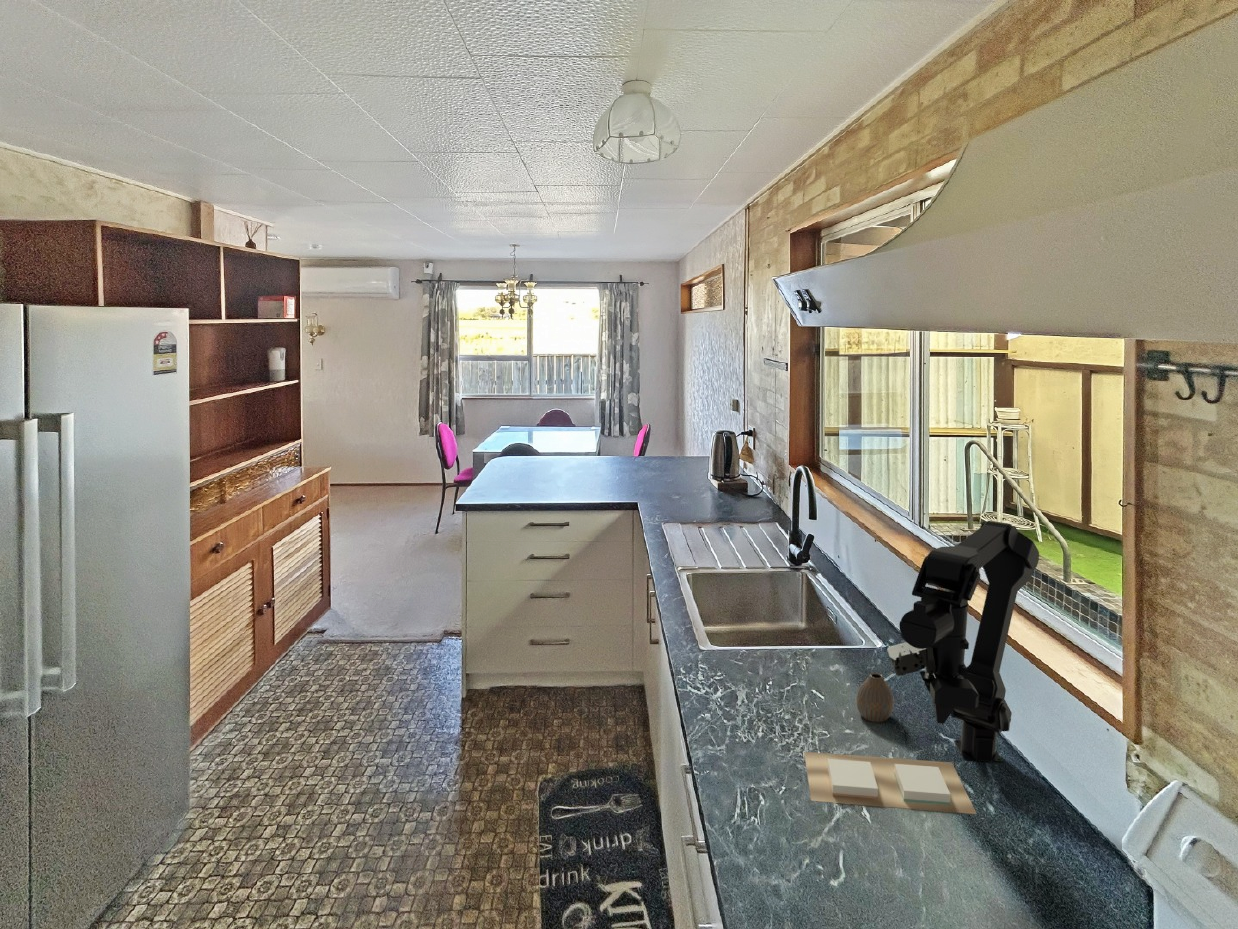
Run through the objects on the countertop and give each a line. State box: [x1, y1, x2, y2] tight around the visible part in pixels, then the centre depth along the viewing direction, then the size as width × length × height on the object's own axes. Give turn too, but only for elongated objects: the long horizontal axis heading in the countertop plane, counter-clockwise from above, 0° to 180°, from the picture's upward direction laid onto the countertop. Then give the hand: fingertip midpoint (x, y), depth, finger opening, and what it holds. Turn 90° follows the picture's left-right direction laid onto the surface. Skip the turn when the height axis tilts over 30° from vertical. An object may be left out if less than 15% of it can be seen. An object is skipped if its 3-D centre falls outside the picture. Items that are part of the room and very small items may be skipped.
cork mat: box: [803, 751, 977, 815], centre depth 132 cm, size 15×25×1 cm, turn 81°
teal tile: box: [894, 764, 951, 805], centre depth 129 cm, size 2×7×8 cm
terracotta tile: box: [827, 759, 878, 799], centre depth 131 cm, size 2×7×8 cm
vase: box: [856, 672, 895, 723], centre depth 153 cm, size 7×7×9 cm
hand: (940, 722), depth 127 cm, fingers closed
